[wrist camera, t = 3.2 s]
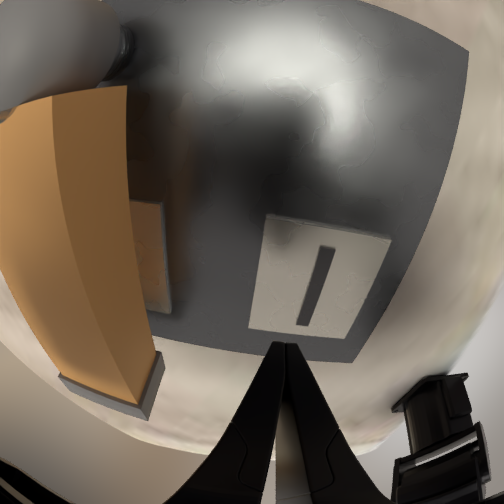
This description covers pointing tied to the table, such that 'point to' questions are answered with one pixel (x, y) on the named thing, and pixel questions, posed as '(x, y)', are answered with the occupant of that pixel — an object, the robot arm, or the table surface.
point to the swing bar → (72, 201)
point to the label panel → (280, 164)
